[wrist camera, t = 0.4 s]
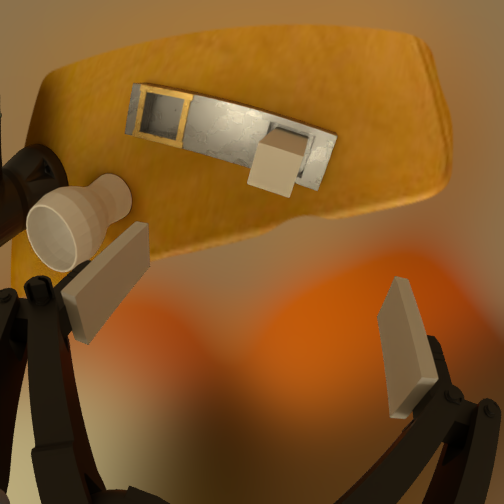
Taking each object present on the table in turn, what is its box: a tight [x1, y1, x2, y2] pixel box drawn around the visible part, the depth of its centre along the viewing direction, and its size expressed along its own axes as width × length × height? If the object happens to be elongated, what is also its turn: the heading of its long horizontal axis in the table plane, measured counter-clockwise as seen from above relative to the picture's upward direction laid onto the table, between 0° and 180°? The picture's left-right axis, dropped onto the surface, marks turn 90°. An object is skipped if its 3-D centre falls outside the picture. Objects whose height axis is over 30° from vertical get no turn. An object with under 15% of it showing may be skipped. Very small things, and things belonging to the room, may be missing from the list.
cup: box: [26, 174, 132, 272], centre depth 41 cm, size 11×11×15 cm
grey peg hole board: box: [125, 83, 337, 191], centre depth 37 cm, size 26×7×3 cm, turn 75°
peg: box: [247, 126, 309, 198], centre depth 33 cm, size 4×4×12 cm
